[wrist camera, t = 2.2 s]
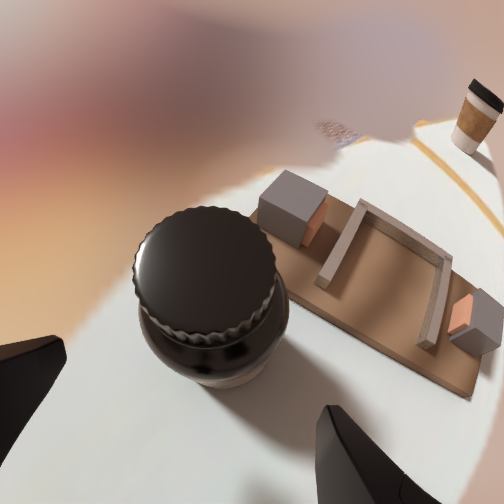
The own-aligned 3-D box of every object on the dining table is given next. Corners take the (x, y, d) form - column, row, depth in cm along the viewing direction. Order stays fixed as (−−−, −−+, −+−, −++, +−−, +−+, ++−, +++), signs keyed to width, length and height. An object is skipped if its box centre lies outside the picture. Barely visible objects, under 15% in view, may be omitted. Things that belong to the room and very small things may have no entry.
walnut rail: (221, 256, 22) (219, 220, 19) (286, 182, 28) (293, 146, 24) (463, 397, 16) (499, 388, 12) (482, 303, 21) (510, 283, 17)
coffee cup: (440, 127, 42) (465, 71, 29) (467, 141, 41) (493, 90, 29) (454, 150, 37) (486, 89, 24) (482, 164, 37) (513, 110, 24)
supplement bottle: (176, 301, 20) (126, 188, 10) (265, 298, 21) (293, 181, 11) (175, 390, 17) (91, 361, 6) (273, 388, 17) (328, 360, 7)
